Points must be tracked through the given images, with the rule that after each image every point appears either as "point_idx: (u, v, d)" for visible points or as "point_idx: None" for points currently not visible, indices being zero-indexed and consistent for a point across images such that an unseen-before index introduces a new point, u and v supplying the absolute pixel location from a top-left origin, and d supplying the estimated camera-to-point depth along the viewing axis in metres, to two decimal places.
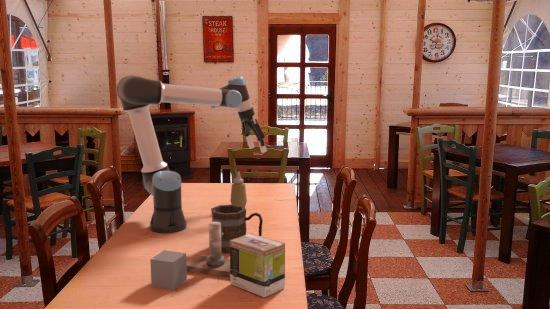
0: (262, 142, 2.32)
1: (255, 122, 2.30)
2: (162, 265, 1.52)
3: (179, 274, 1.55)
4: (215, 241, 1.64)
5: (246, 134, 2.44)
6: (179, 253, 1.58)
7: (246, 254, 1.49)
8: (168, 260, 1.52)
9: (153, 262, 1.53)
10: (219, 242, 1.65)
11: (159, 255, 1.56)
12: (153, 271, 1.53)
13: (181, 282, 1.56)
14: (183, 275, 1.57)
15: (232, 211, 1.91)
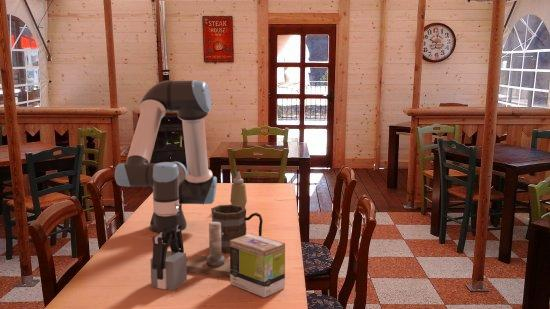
0: (158, 273, 1.51)
1: (156, 242, 1.48)
2: None
3: (179, 274, 1.55)
4: (215, 241, 1.64)
5: None
6: (179, 253, 1.58)
7: (246, 254, 1.49)
8: (168, 260, 1.52)
9: None
10: (219, 242, 1.65)
11: None
12: (153, 271, 1.53)
13: (181, 282, 1.56)
14: (183, 274, 1.57)
15: (232, 211, 1.91)
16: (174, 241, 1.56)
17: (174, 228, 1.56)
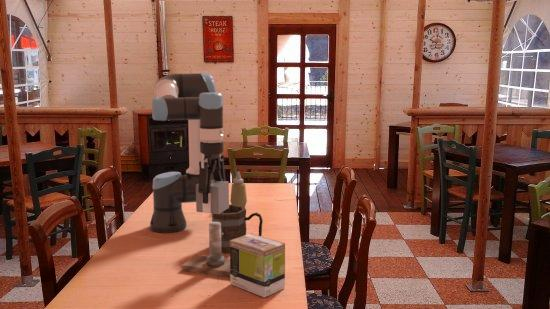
0: (204, 198, 1.58)
1: (203, 166, 1.55)
2: None
3: (223, 200, 1.62)
4: (215, 241, 1.64)
5: None
6: (222, 181, 1.65)
7: (246, 254, 1.49)
8: (213, 185, 1.59)
9: None
10: (219, 242, 1.65)
11: None
12: (198, 196, 1.61)
13: (224, 208, 1.63)
14: (226, 201, 1.64)
15: (232, 211, 1.91)
16: (217, 169, 1.64)
17: (218, 156, 1.63)
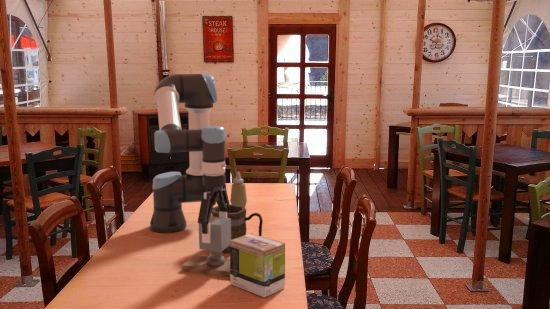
0: (203, 228, 1.58)
1: (205, 197, 1.57)
2: (210, 228, 1.62)
3: (225, 237, 1.65)
4: None
5: (220, 208, 1.71)
6: (224, 218, 1.67)
7: (246, 254, 1.49)
8: (215, 223, 1.62)
9: (201, 226, 1.63)
10: None
11: None
12: (201, 234, 1.63)
13: (227, 245, 1.66)
14: (228, 238, 1.67)
15: (232, 211, 1.91)
16: (221, 199, 1.67)
17: (220, 189, 1.65)
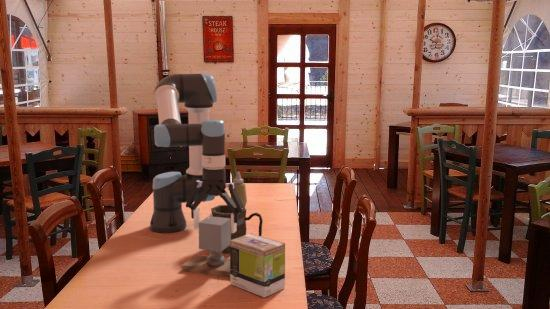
0: None
1: None
2: (210, 228, 1.62)
3: (225, 237, 1.65)
4: None
5: None
6: (224, 218, 1.68)
7: (246, 254, 1.49)
8: (216, 223, 1.62)
9: (201, 225, 1.63)
10: None
11: (206, 220, 1.66)
12: (201, 234, 1.63)
13: (226, 245, 1.66)
14: (228, 238, 1.67)
15: None
16: None
17: (219, 186, 1.61)
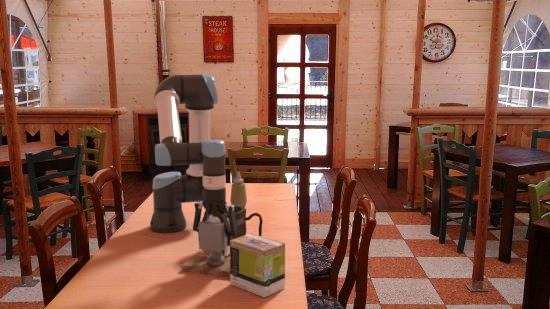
0: None
1: None
2: (210, 228, 1.62)
3: None
4: None
5: None
6: None
7: (246, 254, 1.49)
8: (215, 223, 1.62)
9: (201, 225, 1.63)
10: None
11: (206, 220, 1.66)
12: (201, 234, 1.63)
13: None
14: None
15: None
16: None
17: (219, 204, 1.63)
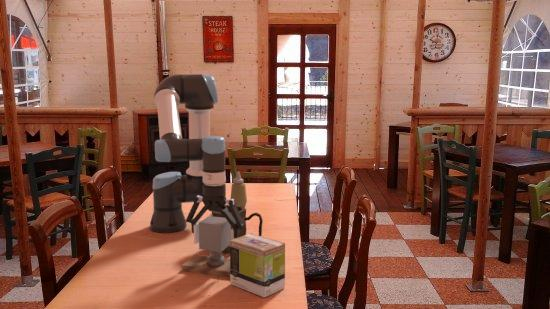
0: None
1: None
2: (210, 228, 1.62)
3: (225, 237, 1.65)
4: None
5: None
6: (224, 218, 1.68)
7: (246, 254, 1.49)
8: (215, 223, 1.62)
9: (201, 226, 1.63)
10: None
11: (206, 220, 1.66)
12: (201, 234, 1.63)
13: (226, 245, 1.66)
14: (228, 238, 1.67)
15: None
16: None
17: (219, 202, 1.62)
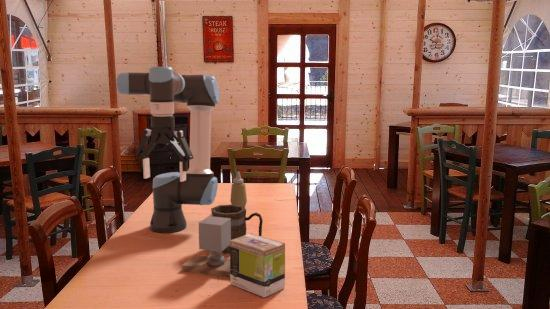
0: None
1: None
2: (210, 228, 1.62)
3: (225, 237, 1.65)
4: None
5: None
6: (224, 218, 1.68)
7: (246, 254, 1.49)
8: (215, 223, 1.62)
9: (201, 226, 1.63)
10: None
11: (206, 220, 1.66)
12: (201, 234, 1.63)
13: (226, 245, 1.66)
14: (228, 238, 1.67)
15: (232, 211, 1.91)
16: None
17: (167, 133, 1.60)
